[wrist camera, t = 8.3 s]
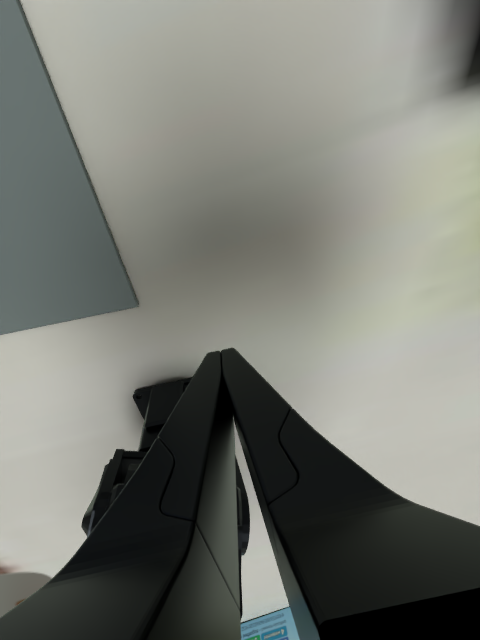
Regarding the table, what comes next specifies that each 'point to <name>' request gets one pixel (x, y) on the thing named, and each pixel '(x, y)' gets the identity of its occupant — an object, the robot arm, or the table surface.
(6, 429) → the table surface
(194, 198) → the table surface
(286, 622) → the gum box
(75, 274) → the mat
